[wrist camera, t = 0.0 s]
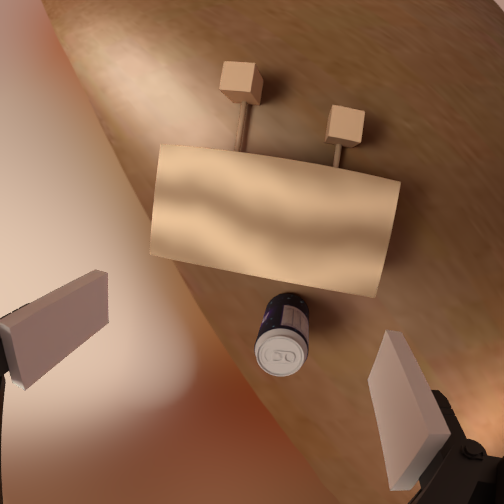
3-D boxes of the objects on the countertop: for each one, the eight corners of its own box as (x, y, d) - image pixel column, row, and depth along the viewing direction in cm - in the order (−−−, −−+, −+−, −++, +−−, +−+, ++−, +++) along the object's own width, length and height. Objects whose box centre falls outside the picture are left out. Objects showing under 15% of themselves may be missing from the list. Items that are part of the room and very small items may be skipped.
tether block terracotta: (227, 77, 37) (212, 60, 31) (273, 81, 37) (267, 64, 30) (206, 217, 42) (188, 226, 35) (251, 225, 41) (241, 235, 35)
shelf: (197, 150, 40) (160, 143, 30) (375, 180, 38) (400, 182, 27) (186, 234, 43) (149, 254, 32) (358, 266, 40) (374, 297, 30)
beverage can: (267, 289, 43) (253, 330, 32) (310, 292, 42) (310, 335, 31) (265, 327, 44) (251, 376, 33) (306, 330, 44) (305, 381, 32)
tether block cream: (317, 114, 37) (320, 102, 30) (365, 124, 36) (377, 114, 29) (298, 233, 41) (297, 245, 34) (345, 242, 40) (352, 256, 33)
